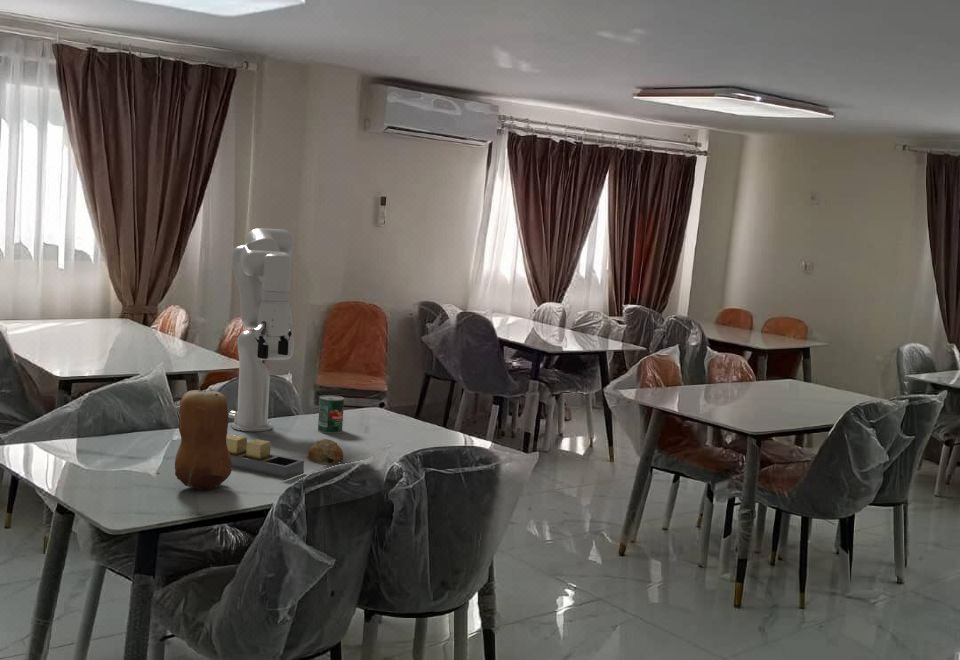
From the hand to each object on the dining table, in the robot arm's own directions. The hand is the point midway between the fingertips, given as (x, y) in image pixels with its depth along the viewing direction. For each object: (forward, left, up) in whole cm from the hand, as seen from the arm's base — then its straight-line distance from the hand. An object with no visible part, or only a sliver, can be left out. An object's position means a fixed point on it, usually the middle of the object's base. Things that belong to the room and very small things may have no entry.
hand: (272, 356), depth 281 cm
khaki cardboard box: (0, -16, -28) cm, 32 cm away
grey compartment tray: (+8, -16, -28) cm, 33 cm away
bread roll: (+17, +3, -29) cm, 34 cm away
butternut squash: (+8, -39, -28) cm, 49 cm away
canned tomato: (-1, +35, -28) cm, 45 cm away
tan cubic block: (+8, -16, -28) cm, 33 cm away
